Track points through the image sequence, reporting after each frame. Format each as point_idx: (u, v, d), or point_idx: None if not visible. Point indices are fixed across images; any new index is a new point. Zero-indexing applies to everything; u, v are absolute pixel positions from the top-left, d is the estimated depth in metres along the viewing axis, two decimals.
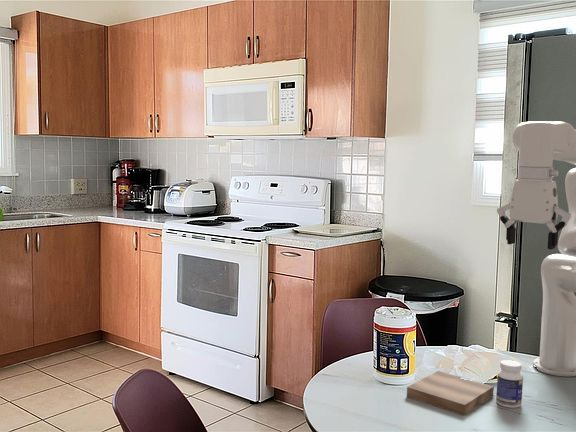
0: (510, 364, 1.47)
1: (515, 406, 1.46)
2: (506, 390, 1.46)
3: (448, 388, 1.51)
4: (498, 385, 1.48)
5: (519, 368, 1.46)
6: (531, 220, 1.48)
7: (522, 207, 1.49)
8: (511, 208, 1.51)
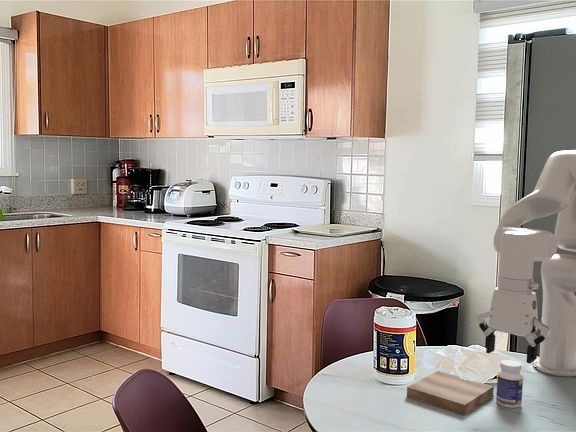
0: (510, 364, 1.47)
1: (515, 406, 1.46)
2: (506, 390, 1.46)
3: (448, 388, 1.51)
4: (498, 385, 1.48)
5: (519, 368, 1.46)
6: (510, 332, 1.44)
7: (501, 317, 1.45)
8: (490, 317, 1.47)
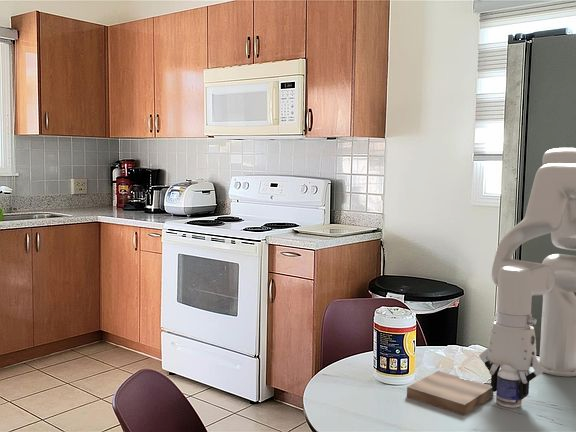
0: None
1: (515, 406, 1.46)
2: (506, 390, 1.46)
3: (448, 388, 1.51)
4: (498, 385, 1.48)
5: None
6: None
7: (500, 352, 1.47)
8: (489, 351, 1.49)
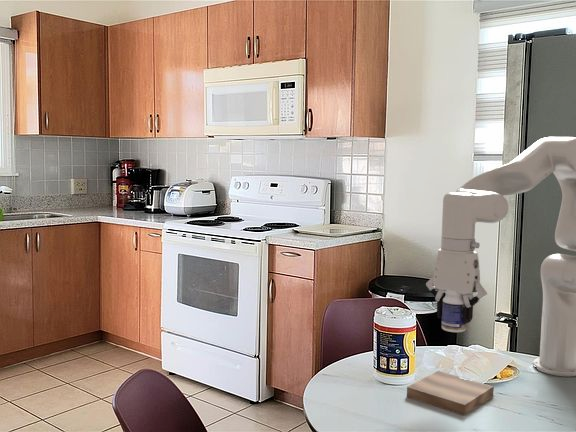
0: None
1: (459, 330, 1.48)
2: (450, 314, 1.47)
3: (448, 388, 1.51)
4: (443, 311, 1.49)
5: None
6: None
7: (445, 277, 1.48)
8: (435, 277, 1.50)
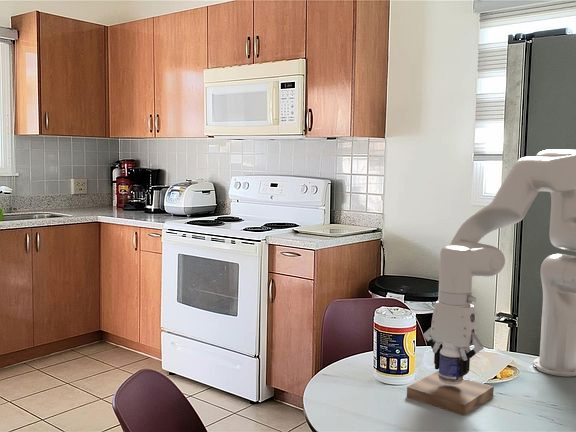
0: None
1: (456, 383, 1.49)
2: (447, 367, 1.49)
3: (448, 388, 1.51)
4: (440, 362, 1.51)
5: None
6: None
7: (442, 329, 1.50)
8: (432, 329, 1.52)
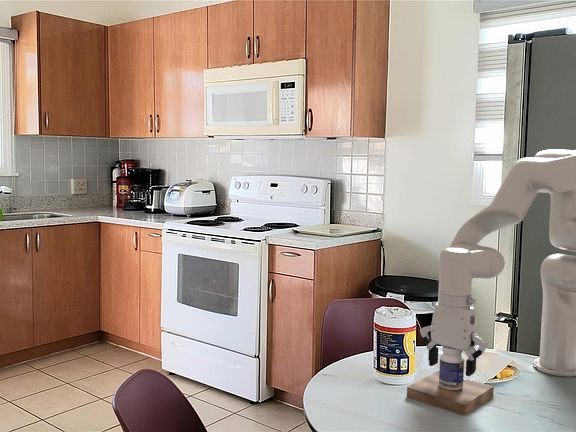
0: (451, 348, 1.50)
1: (456, 388, 1.49)
2: (447, 373, 1.49)
3: None
4: (440, 368, 1.51)
5: (460, 351, 1.49)
6: (450, 346, 1.49)
7: (442, 332, 1.50)
8: (432, 331, 1.52)
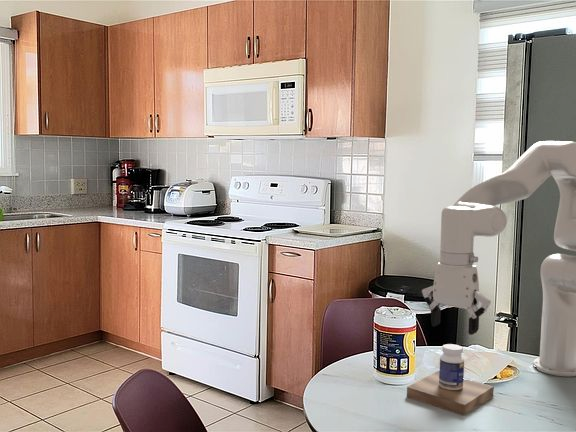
0: (451, 348, 1.50)
1: (456, 389, 1.49)
2: (448, 373, 1.49)
3: None
4: (440, 368, 1.51)
5: (460, 351, 1.49)
6: (452, 305, 1.48)
7: (444, 291, 1.49)
8: (434, 291, 1.51)
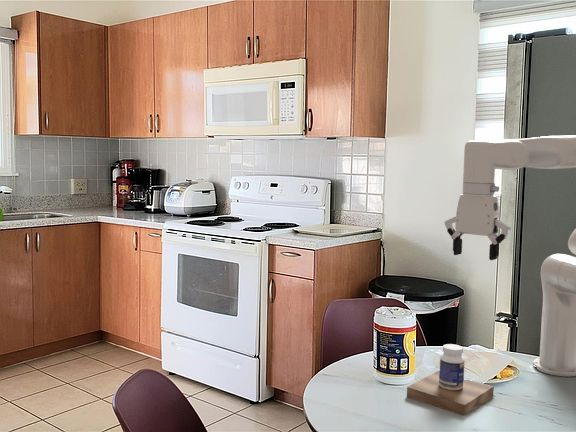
0: (452, 348, 1.50)
1: (456, 389, 1.49)
2: (448, 373, 1.49)
3: None
4: (440, 368, 1.51)
5: (460, 351, 1.49)
6: (474, 232, 1.58)
7: (466, 220, 1.58)
8: (456, 221, 1.61)
